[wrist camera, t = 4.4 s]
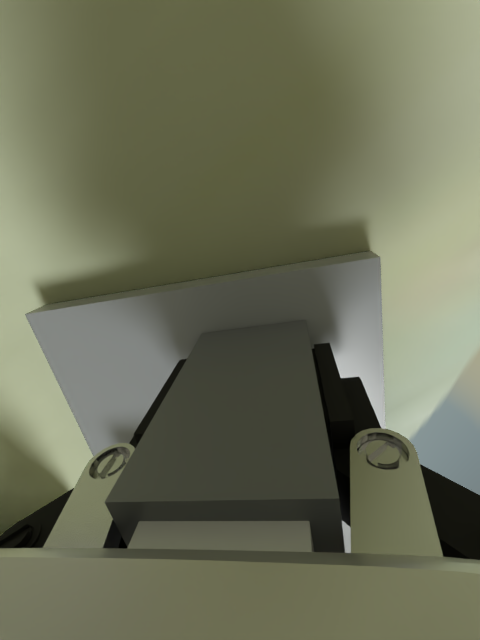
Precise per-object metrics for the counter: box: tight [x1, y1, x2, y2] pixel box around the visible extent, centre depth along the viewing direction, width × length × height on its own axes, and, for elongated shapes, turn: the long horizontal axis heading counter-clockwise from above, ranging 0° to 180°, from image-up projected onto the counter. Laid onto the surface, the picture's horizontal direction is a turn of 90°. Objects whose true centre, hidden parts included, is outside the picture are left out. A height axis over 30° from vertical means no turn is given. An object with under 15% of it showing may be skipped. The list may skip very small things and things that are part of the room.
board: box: [25, 251, 385, 553], centre depth 15 cm, size 27×14×5 cm, turn 11°
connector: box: [105, 320, 345, 553], centre depth 9 cm, size 4×4×8 cm
